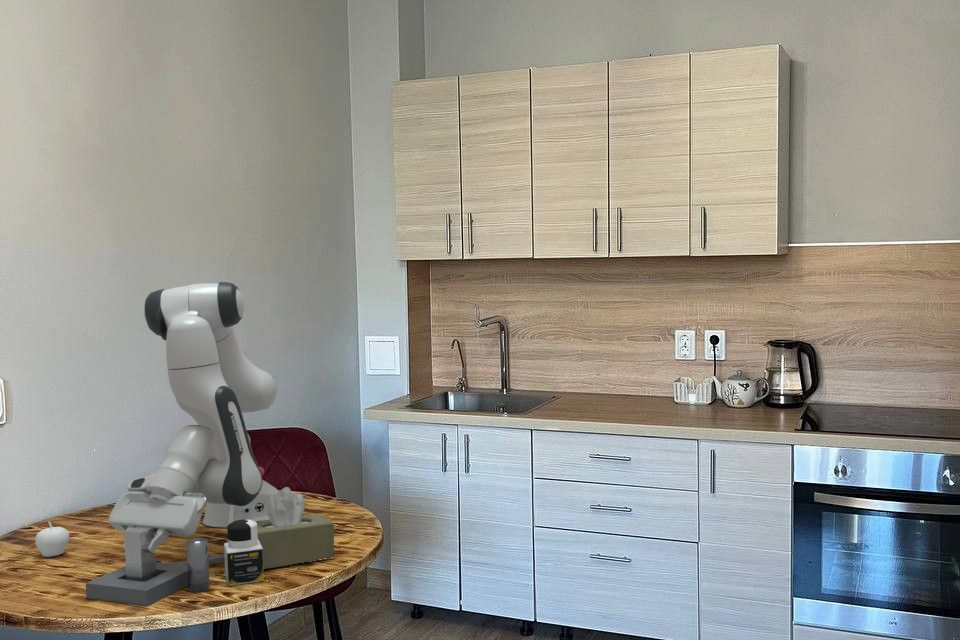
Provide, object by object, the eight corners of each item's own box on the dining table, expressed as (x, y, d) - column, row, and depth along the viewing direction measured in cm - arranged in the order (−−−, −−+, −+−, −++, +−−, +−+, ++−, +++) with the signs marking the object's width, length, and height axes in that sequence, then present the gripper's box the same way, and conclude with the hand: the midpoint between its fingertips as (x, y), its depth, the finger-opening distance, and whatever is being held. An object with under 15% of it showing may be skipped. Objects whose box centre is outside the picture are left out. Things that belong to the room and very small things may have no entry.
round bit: (207, 584, 185) (205, 536, 184) (211, 590, 181) (209, 541, 181) (187, 588, 183) (185, 539, 183) (190, 594, 180) (188, 544, 179)
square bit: (140, 574, 185) (138, 526, 185) (156, 576, 184) (154, 527, 183) (126, 580, 182) (124, 531, 181) (142, 582, 180) (140, 532, 180)
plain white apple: (28, 558, 206) (26, 523, 206) (53, 549, 213) (51, 515, 213) (52, 561, 204) (50, 526, 204) (76, 551, 211) (74, 517, 210)
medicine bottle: (228, 586, 184) (225, 528, 183) (225, 576, 190) (222, 519, 190) (264, 581, 186) (261, 523, 186) (259, 571, 193) (257, 515, 192)
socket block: (139, 573, 193) (139, 560, 193) (197, 580, 188) (197, 566, 187) (86, 598, 179) (85, 583, 179) (147, 606, 174) (146, 590, 173)
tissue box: (321, 547, 208) (320, 479, 208) (335, 558, 200) (334, 487, 199) (239, 559, 200) (238, 488, 199) (250, 571, 191) (249, 497, 190)
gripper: (217, 502, 189) (188, 562, 180) (139, 496, 196) (107, 553, 188) (202, 485, 185) (172, 546, 176) (123, 480, 192) (90, 538, 183)
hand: (138, 550), depth 182 cm, fingers closed on square bit, 4 cm apart
